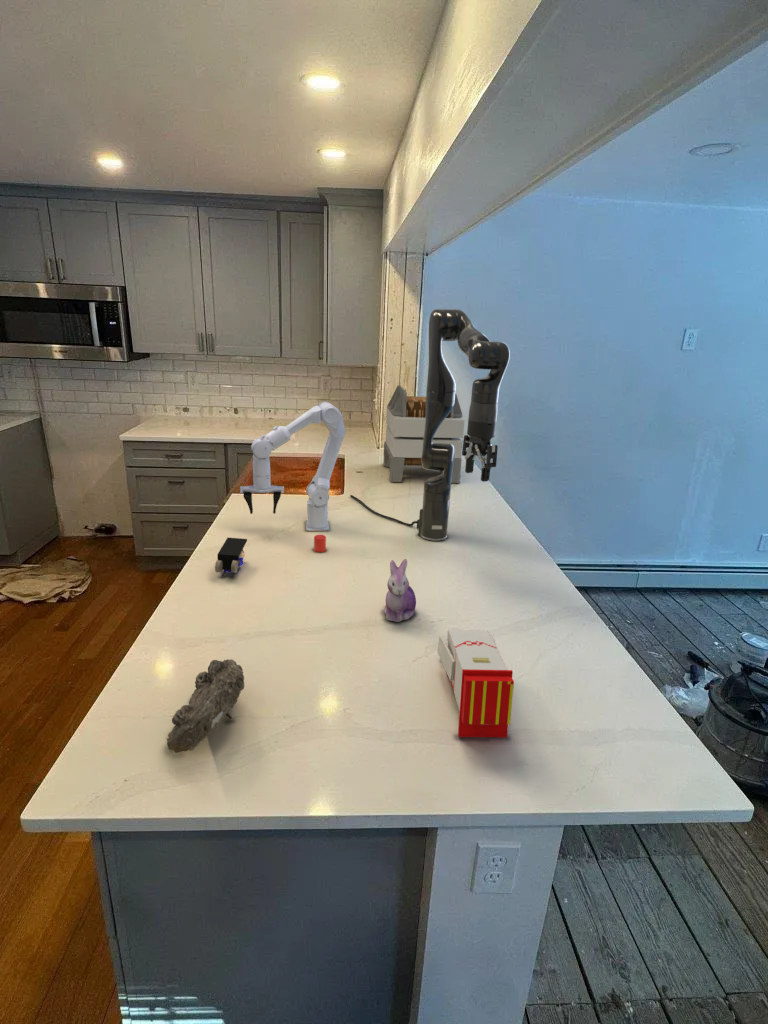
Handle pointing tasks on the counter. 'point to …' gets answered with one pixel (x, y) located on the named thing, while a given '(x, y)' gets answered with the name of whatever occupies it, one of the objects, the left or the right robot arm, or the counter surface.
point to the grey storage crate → (417, 434)
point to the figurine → (399, 594)
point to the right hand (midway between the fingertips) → (476, 476)
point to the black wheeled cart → (230, 556)
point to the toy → (478, 682)
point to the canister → (320, 543)
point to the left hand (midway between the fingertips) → (263, 512)
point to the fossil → (206, 705)
